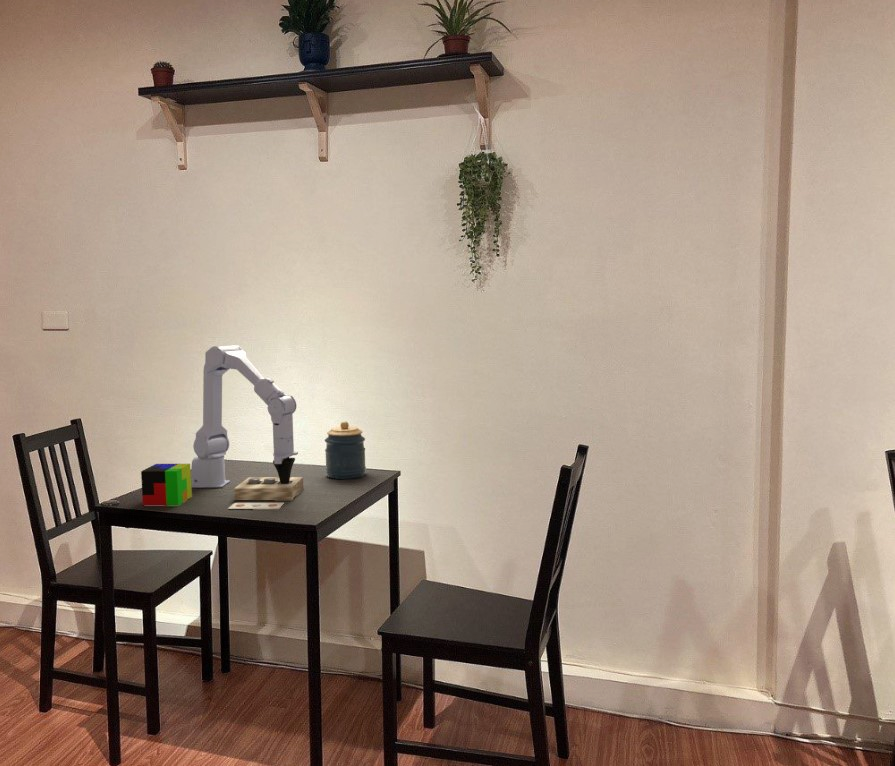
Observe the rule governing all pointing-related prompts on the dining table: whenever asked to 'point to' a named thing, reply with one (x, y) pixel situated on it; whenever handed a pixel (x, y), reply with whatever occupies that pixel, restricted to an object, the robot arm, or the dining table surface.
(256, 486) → the button board
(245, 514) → the dining table surface
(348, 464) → the canister
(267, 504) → the card
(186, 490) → the puzzle toy
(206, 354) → the robot arm
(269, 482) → the middle button
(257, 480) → the left button
